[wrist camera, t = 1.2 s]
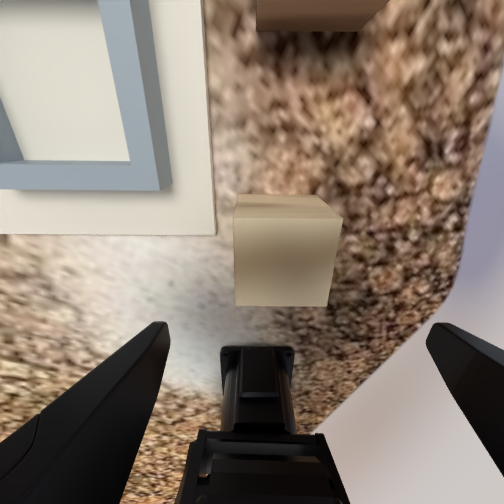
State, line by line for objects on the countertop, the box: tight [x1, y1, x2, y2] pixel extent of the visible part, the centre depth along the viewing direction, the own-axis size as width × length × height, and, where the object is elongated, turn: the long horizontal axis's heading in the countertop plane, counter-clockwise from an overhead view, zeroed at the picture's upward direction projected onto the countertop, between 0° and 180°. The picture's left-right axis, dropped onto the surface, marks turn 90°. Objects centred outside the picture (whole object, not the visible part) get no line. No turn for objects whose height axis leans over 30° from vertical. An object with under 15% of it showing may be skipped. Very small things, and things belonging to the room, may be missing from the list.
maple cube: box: [233, 194, 343, 307], centre depth 14 cm, size 5×5×5 cm
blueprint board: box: [0, 0, 217, 235], centre depth 11 cm, size 16×14×3 cm
